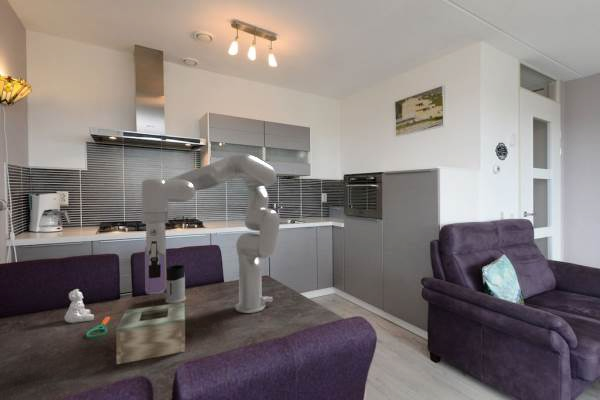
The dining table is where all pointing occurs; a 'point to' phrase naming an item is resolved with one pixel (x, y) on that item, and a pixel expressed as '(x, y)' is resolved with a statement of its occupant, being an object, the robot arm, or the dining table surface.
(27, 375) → the dining table surface
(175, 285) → the white pitcher
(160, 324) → the tissue box
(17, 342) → the dining table surface
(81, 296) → the white creature statuette
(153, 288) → the beverage can
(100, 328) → the magnifying glass
